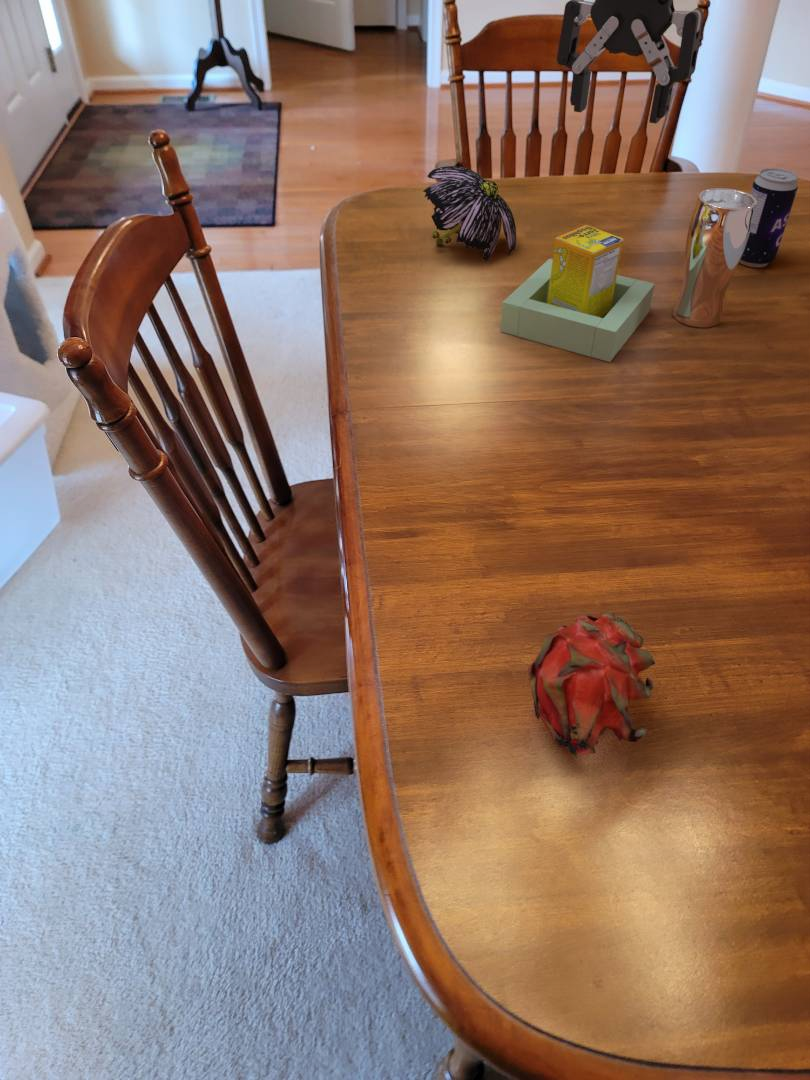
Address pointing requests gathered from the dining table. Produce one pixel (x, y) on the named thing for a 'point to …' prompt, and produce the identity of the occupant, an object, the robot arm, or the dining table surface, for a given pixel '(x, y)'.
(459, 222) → the decorative flower
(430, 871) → the dining table surface
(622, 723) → the dragon fruit
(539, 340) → the socket
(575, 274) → the supplement box
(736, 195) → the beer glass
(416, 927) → the dining table surface
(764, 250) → the beverage can
